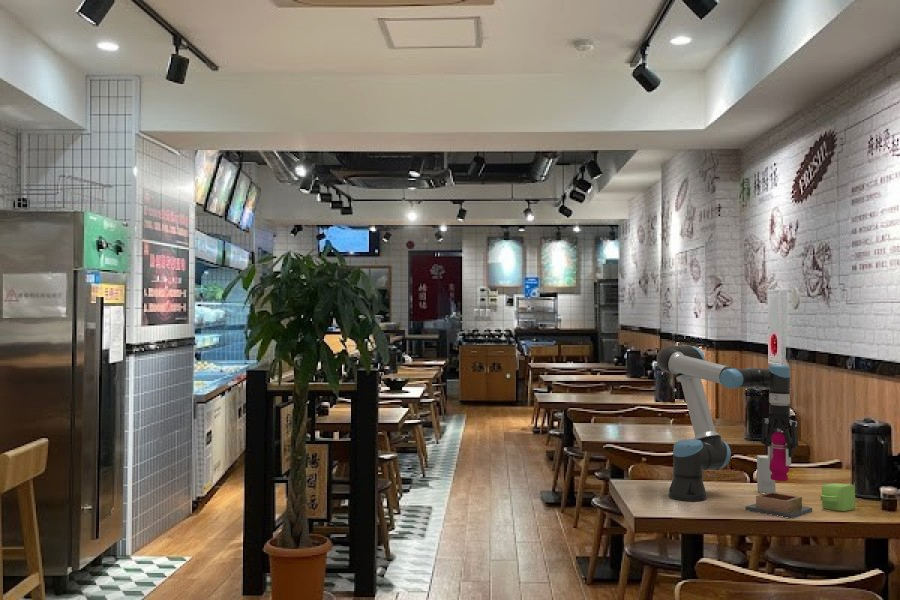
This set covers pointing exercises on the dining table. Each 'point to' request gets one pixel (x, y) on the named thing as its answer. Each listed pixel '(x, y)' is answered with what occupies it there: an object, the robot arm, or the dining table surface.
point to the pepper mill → (779, 457)
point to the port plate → (779, 505)
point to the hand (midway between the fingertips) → (779, 464)
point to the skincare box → (764, 476)
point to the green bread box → (838, 496)
